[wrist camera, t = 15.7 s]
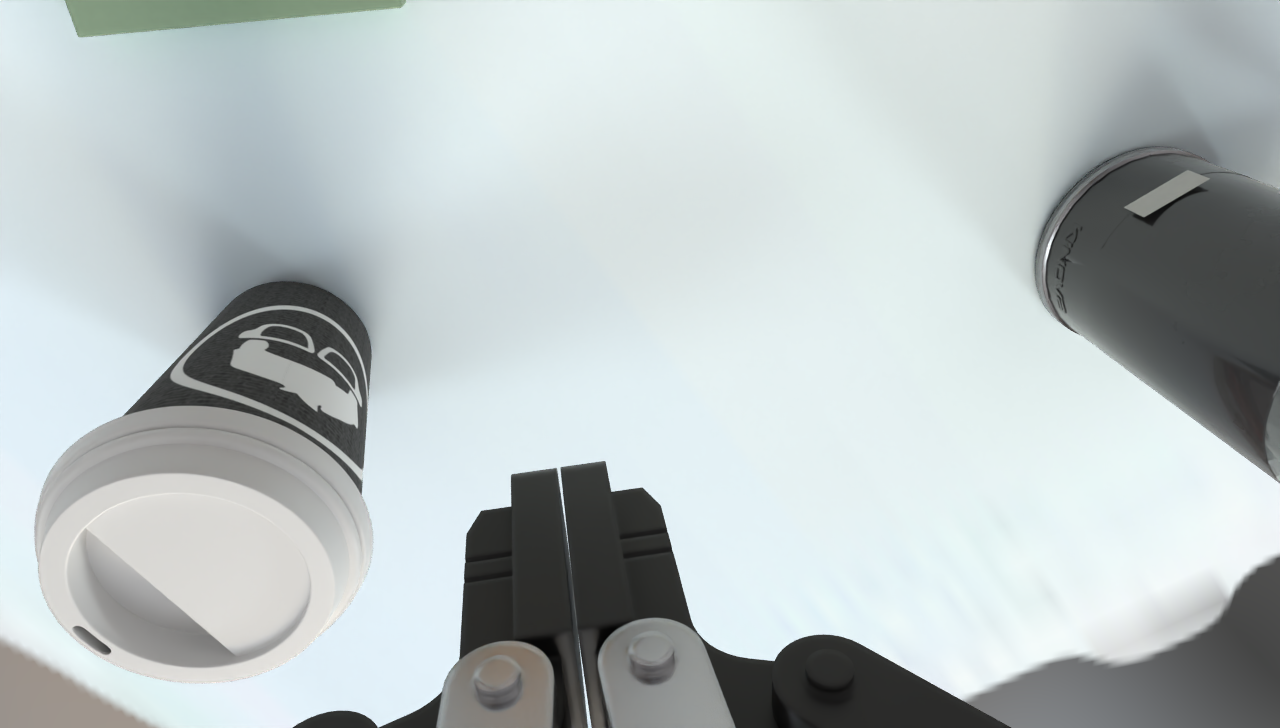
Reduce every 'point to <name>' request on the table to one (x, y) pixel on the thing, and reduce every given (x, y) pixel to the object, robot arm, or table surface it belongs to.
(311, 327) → the coffee cup
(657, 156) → the table surface
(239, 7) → the button box
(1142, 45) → the table surface
